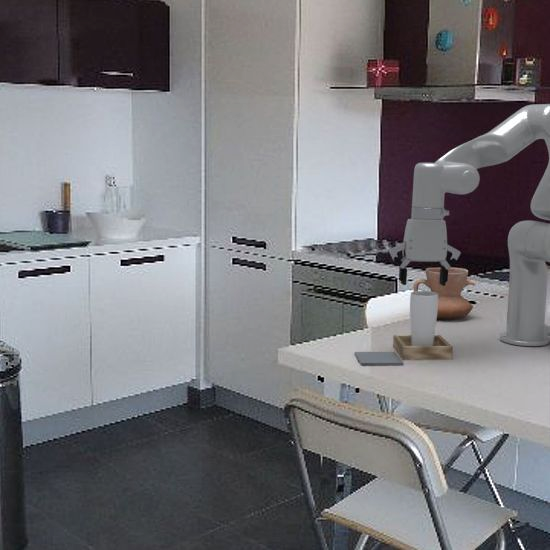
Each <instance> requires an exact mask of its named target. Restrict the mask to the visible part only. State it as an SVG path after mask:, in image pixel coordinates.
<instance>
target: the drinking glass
mask: <svg viewBox="0 0 550 550" xmlns="http://www.w3.org/2000/svg"><path fill="white" fill-rule="evenodd" d="M409 298H410V299H409V321H410V322H409V323H410V335H411V346H433V343H434V335H436V327H437V325H436V324H437V320H438V319H437V312H438V294H437V293H435V292H431V290H430V291H429V290H428V291H427V290H418V291H414V290H413V291H412V292H410V297H409Z"/></svg>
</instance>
